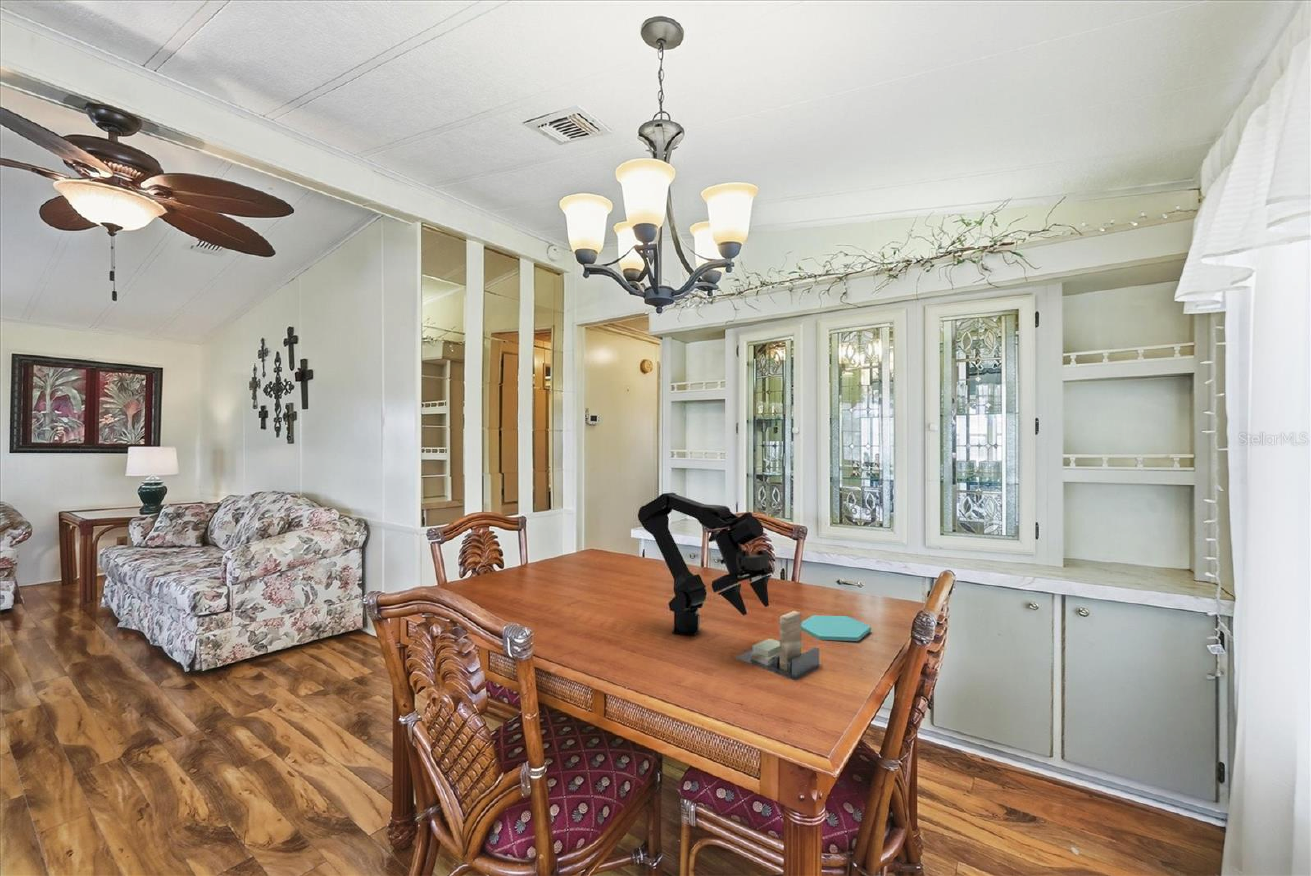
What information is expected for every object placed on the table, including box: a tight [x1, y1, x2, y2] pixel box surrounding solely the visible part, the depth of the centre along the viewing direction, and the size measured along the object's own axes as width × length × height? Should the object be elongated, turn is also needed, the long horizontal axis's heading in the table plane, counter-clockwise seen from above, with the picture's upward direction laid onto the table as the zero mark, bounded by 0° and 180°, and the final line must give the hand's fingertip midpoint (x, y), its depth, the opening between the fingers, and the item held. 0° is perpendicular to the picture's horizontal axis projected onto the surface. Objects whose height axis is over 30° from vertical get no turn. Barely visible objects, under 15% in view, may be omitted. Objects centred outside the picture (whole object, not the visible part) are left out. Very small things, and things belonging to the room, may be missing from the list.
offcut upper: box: [752, 637, 780, 657], centre depth 131 cm, size 4×7×2 cm, turn 133°
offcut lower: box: [751, 652, 780, 666], centre depth 131 cm, size 5×8×2 cm, turn 133°
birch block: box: [779, 610, 803, 671], centre depth 126 cm, size 2×6×12 cm, turn 133°
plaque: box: [801, 614, 872, 642], centre depth 153 cm, size 18×2×20 cm
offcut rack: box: [734, 647, 824, 681], centre depth 129 cm, size 17×12×5 cm
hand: (756, 610), depth 134 cm, fingers open, 9 cm apart
